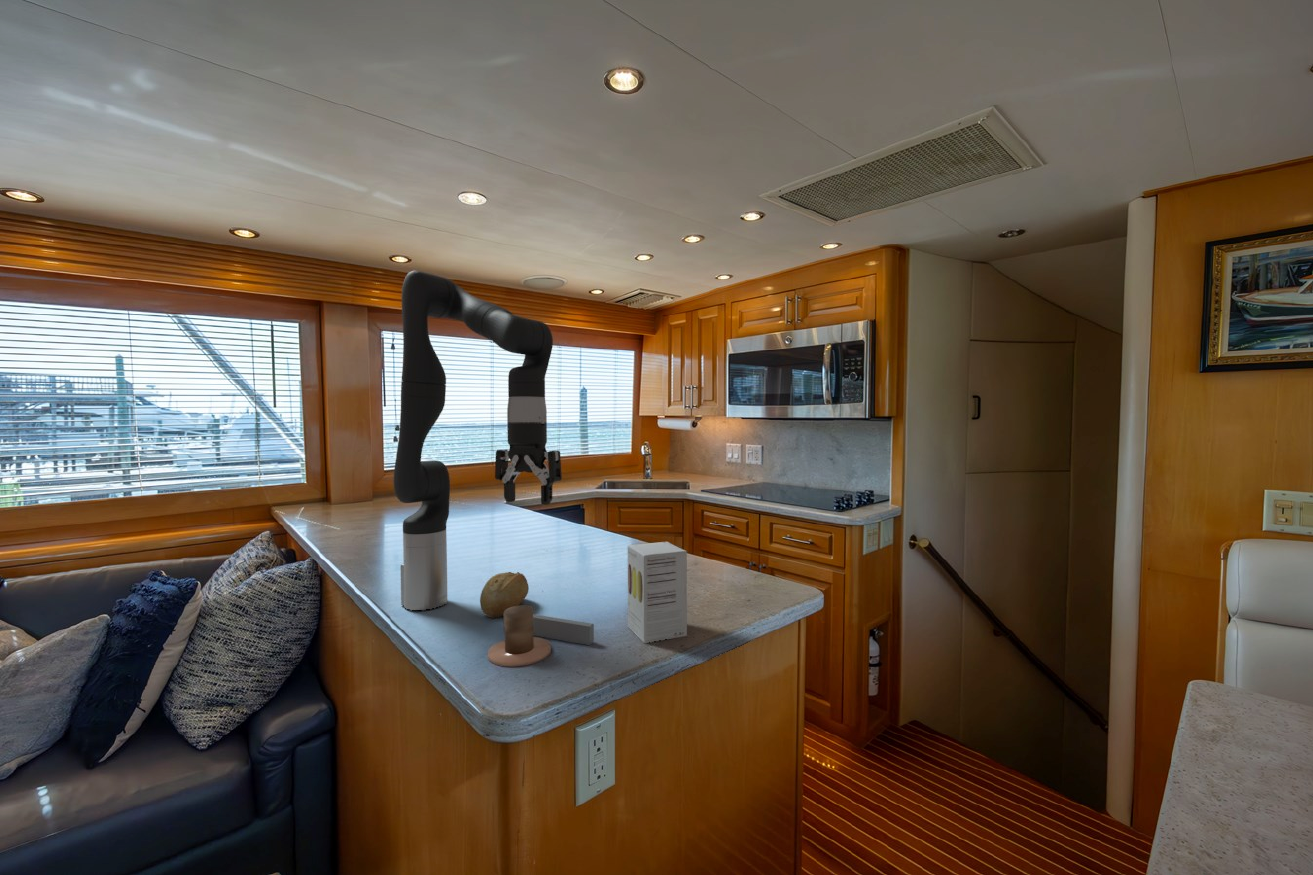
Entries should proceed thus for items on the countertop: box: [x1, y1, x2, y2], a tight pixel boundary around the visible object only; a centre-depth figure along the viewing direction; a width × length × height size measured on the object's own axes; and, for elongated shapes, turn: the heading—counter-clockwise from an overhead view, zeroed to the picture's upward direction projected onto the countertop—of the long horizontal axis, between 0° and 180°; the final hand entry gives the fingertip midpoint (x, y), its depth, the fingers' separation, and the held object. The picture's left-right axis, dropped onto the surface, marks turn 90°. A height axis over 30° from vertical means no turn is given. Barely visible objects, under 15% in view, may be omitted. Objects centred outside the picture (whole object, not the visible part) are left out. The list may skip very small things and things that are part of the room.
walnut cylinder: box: [504, 604, 534, 654], centre depth 96 cm, size 5×5×7 cm
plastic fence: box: [502, 613, 595, 646], centre depth 104 cm, size 20×2×4 cm, turn 67°
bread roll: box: [479, 571, 529, 619], centre depth 120 cm, size 10×15×8 cm, turn 177°
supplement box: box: [627, 541, 688, 644], centre depth 105 cm, size 10×9×17 cm
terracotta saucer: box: [487, 636, 552, 668], centre depth 96 cm, size 11×11×1 cm
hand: (528, 502), depth 105 cm, fingers open, 8 cm apart
